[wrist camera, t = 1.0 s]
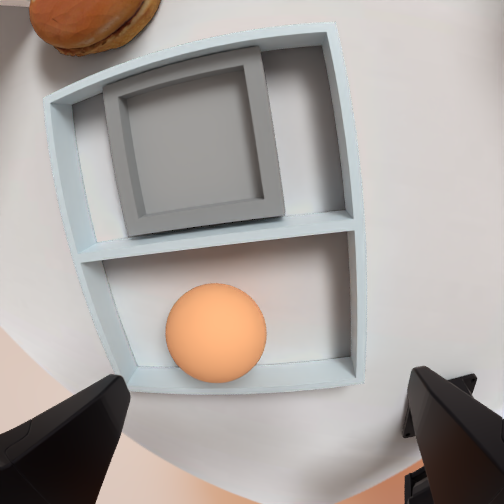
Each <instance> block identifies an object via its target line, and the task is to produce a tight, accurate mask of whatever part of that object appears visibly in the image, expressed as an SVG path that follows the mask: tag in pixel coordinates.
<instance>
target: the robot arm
mask: <svg viewBox="0 0 504 504" xmlns="http://www.w3.org/2000/svg"><path fill="white" fill-rule="evenodd" d="M476 381H477V377H476V375H475V374H470V375H466V376H463V377H459V378H455V379H451V380H448V381H447V380H446V379H444V378H443V377H441V376H440V375H438V374H437V373H435V372H434V371H432V370H431V369H429V368H428V367H426V366H420V367H415V368H413V369H412V371H411V375H410V380H409V384H408V389H407V394H408V399H409V406H408V410H407V415H406V419H405V423H404V427H403V431H402V435H403V437H404V438H409V437H413V436H416V439H417V443H418V446H419V450H420V453H421V456H422V460H423V463H424V466H423V467H422V468H420V469H418V470H416V471H415V472H413V473H409V474H408V475H406V476H405V504H504V419H503V420H502V417H501V416H499V415H498V414H496V413H495V412H493V411H492V410H490V409H489V408H487V407H486V406H484V405H483V404H481V403H480V402H478V401H477V400H476V399H474V397H473V396H472V393H473V390H474V387H475V384H476ZM129 403H130V392H129V390H128V388H127V385H126V383H125V380H124V378H123V377H122V376H121V375H115V374H110V375H108V376H106V377H105V378H103V379H101V380H99V381H98V382H96V383H94V384H93V385H91V386H89V387H87V388H86V389H84V390H82V391H80V392H79V393H77V394H75V395H73V396H72V397H70V398H68V399H66V400H64V401H63V402H61V403H59V404H57V405H56V406H54V407H52V408H50V409H48V410H47V411H45V412H43V413H41V414H39V415H38V416H36V417H34V418H33V419H32V420H31V419H30V420H29V421H27V422H25V423H23V424H21V425H19V426H17V427H15V428H13V429H11V430H9V431H7V432H5V433H2V434H0V504H95V503H96V500H97V497H98V494H99V491H100V489H101V486H102V483H103V481H104V478H105V475H106V473H107V470H108V467H109V464H110V462H111V459H112V457H113V454H114V451H115V449H116V446H117V444H118V441H119V438H120V435H121V432H122V429H123V425H124V421H125V417H126V414H127V410H128V406H129Z"/></svg>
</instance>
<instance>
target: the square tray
mask: <svg viewBox="0 0 504 504" xmlns="http://www.w3.org/2000/svg"><path fill="white" fill-rule="evenodd" d="M102 88H103V97H104V106H105V114H106V121H107V128H108V135H109V142H110V148H111V154H112V160H113V166H114V171H115V177H116V182H117V187H118V192H119V197H120V202H121V207H122V211H123V216H124V220H125V225H126V229H127V233H128V237H129V236H135V235H142V234H148V233H155V232H162V231H169V230H176V229H183V228H190V227H197V226H204V225H212V224H219V223H227V222H234V221H242V220H250V219H258V218H266V217H274V216H283V215H285V205H284V197H283V190H282V182H281V175H280V168H279V161H278V154H277V148H276V141H275V134H274V128H273V121H272V115H271V109H270V102H269V96H268V90H267V84H266V78H265V72H264V67H263V61H262V55H261V51H260V47H259V46H256V47H250V48H244V49H238V50H232V51H227V52H222V53H217V54H212V55H208V56H203V57H199V58H195V59H191V60H186V61H183V62H179V63H175V64H171V65H168V66H164V67H161V68H157V69H154V70H150V71H147V72H144V73H141V74H138V75H135V76H132V77H129V78H126V79H123V80H120V81H117V82H114V83H112V84H109V85H106V86H104V87H102Z"/></svg>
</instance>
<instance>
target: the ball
mask: <svg viewBox="0 0 504 504" xmlns="http://www.w3.org/2000/svg"><path fill="white" fill-rule="evenodd" d="M166 342H167V346H168V350H169V352H170V354H171V356H172V358H173V360H174V361H175V362H176V364H177V365H178V366H179V367H180V368H181V369H182V370H183V371H184V372H185V373H187V374H188V375H190V376H191V377H193V378H195V379H198V380H200V381H204V382H209V383H225V382H230V381H233V380H236V379H238V378H240V377H242V376H243V375H245V374H246V373H248V372H249V371H250V370H251V369H252V368H253V367H254V366H255V365H256V364H257V362H258V361H259V359H260V357H261V355H262V353H263V351H264V348H265V344H266V324H265V320H264V317H263V314H262V312H261V310H260V309H259V307H258V305H257V304H256V303H255V301H254V300H253V299H252V298H251V297H250V296H248V295H247V294H246V293H245V292H243V291H241V290H240V289H237V288H235V287H233V286H230V285H225V284H218V283H211V284H205V285H201V286H198V287H195V288H193V289H191V290H190V291H188V292H186V293H185V294H184V295H183V296H181V297H180V298H179V299H178V301H177V302H176V303H175V304H174V306H173V307H172V309H171V311H170V313H169V316H168V319H167V323H166Z"/></svg>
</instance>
